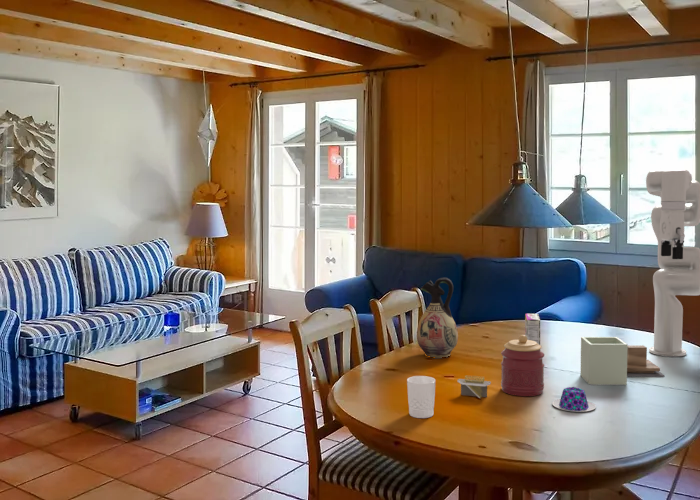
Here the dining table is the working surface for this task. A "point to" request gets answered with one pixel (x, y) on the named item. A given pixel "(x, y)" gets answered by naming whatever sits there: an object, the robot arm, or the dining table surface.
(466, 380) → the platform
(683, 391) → the dining table surface
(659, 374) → the mat
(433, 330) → the ceramic jug
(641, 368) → the lid
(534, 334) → the candy bar box
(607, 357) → the box
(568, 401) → the pudding
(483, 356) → the dining table surface
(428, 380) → the white cup
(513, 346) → the canister
